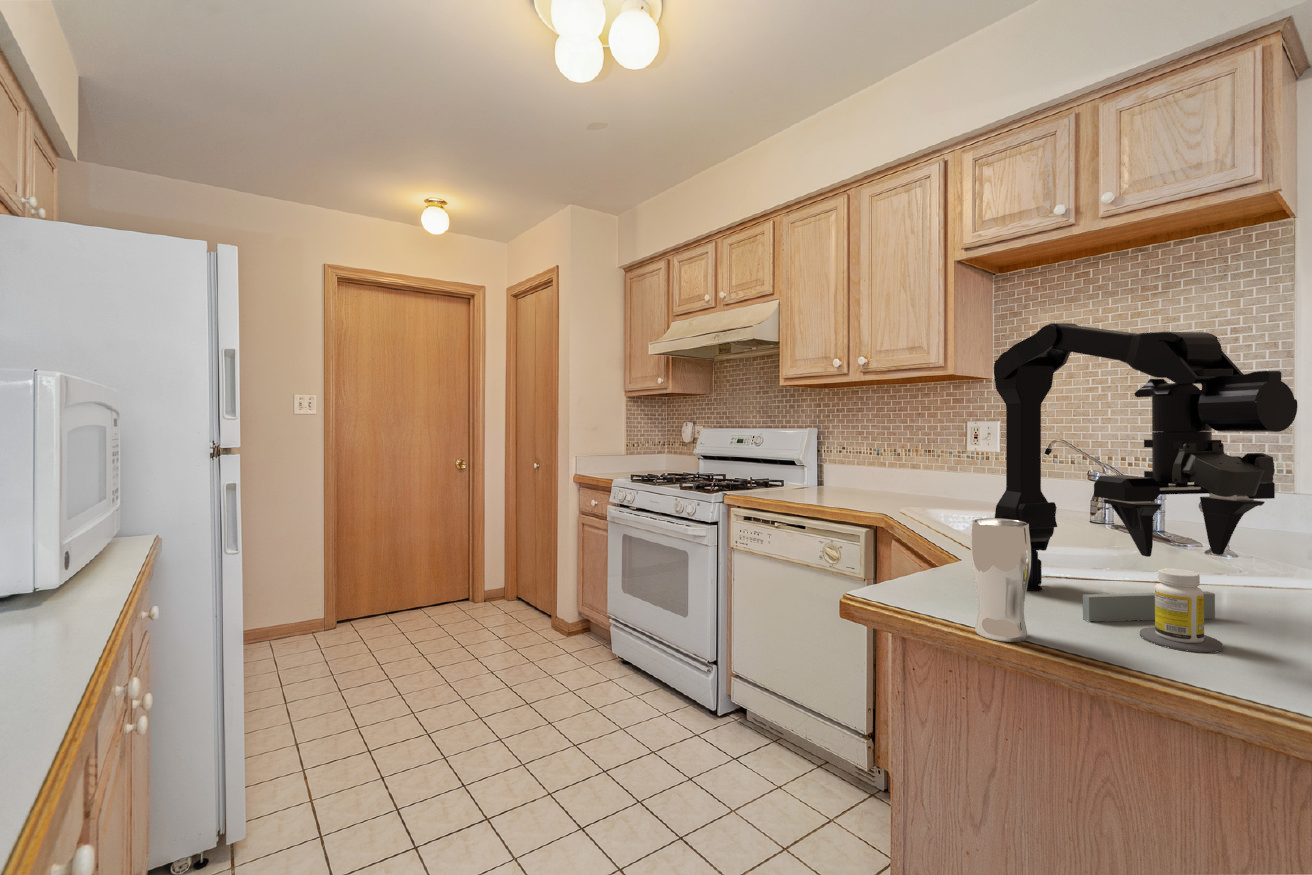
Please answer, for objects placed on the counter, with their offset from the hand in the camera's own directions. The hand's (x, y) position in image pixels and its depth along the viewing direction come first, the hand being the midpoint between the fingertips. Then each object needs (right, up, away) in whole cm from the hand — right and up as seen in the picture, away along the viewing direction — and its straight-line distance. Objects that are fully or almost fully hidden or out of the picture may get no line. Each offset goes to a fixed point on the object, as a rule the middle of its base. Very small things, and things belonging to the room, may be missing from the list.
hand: (1181, 555), depth 77 cm
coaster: (0, -11, 0) cm, 11 cm away
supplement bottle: (0, -11, +1) cm, 11 cm away
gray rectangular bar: (+3, -11, +9) cm, 14 cm away
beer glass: (-21, -12, +4) cm, 24 cm away
